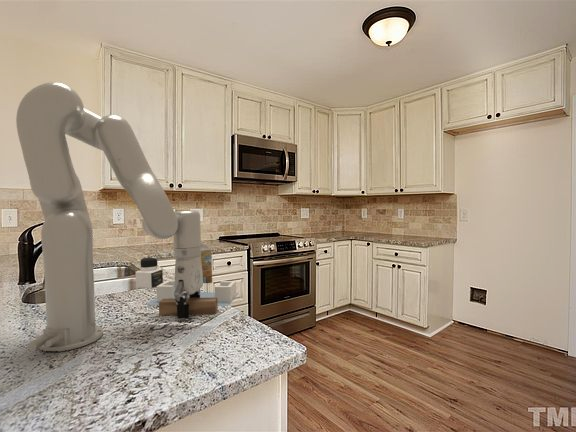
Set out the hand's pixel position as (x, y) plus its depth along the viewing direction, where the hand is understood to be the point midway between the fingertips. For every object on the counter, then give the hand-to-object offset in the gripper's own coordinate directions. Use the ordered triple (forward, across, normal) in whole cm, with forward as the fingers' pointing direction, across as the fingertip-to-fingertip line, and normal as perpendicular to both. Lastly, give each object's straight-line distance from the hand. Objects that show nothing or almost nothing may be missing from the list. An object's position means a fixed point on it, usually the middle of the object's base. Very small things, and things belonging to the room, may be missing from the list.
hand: (189, 312), depth 88 cm
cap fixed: (0, +13, -7) cm, 15 cm away
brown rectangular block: (+1, 0, 0) cm, 1 cm away
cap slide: (0, +13, +12) cm, 18 cm away
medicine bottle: (+1, +29, +28) cm, 40 cm away
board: (+1, +13, +4) cm, 14 cm away
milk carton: (+1, +37, +13) cm, 39 cm away
